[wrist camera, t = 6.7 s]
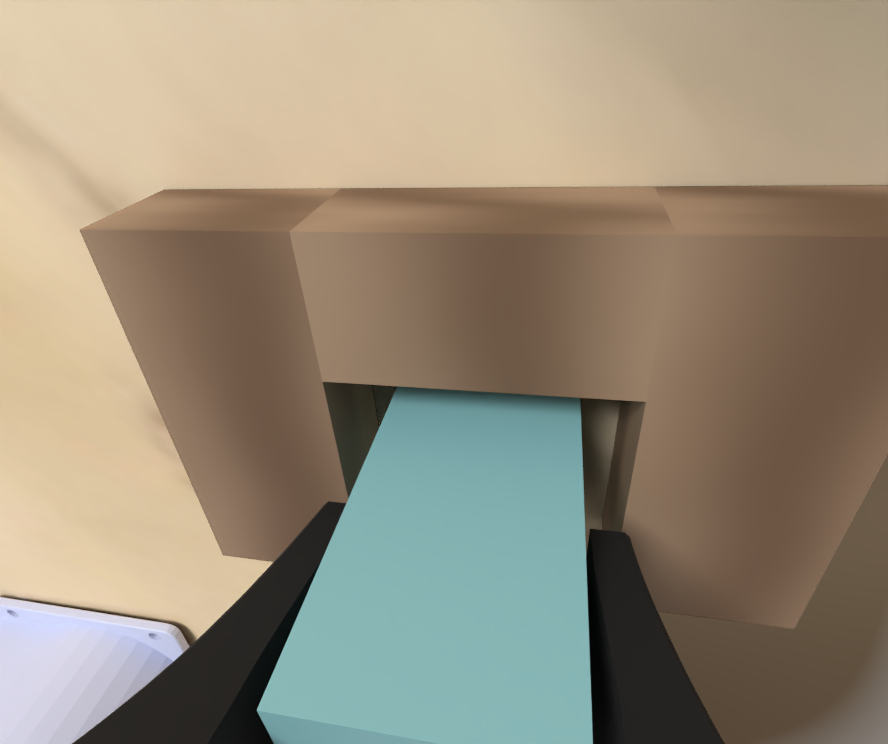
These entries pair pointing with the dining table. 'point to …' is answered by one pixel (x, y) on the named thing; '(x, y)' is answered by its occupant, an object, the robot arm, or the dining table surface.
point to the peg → (449, 585)
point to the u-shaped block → (530, 353)
